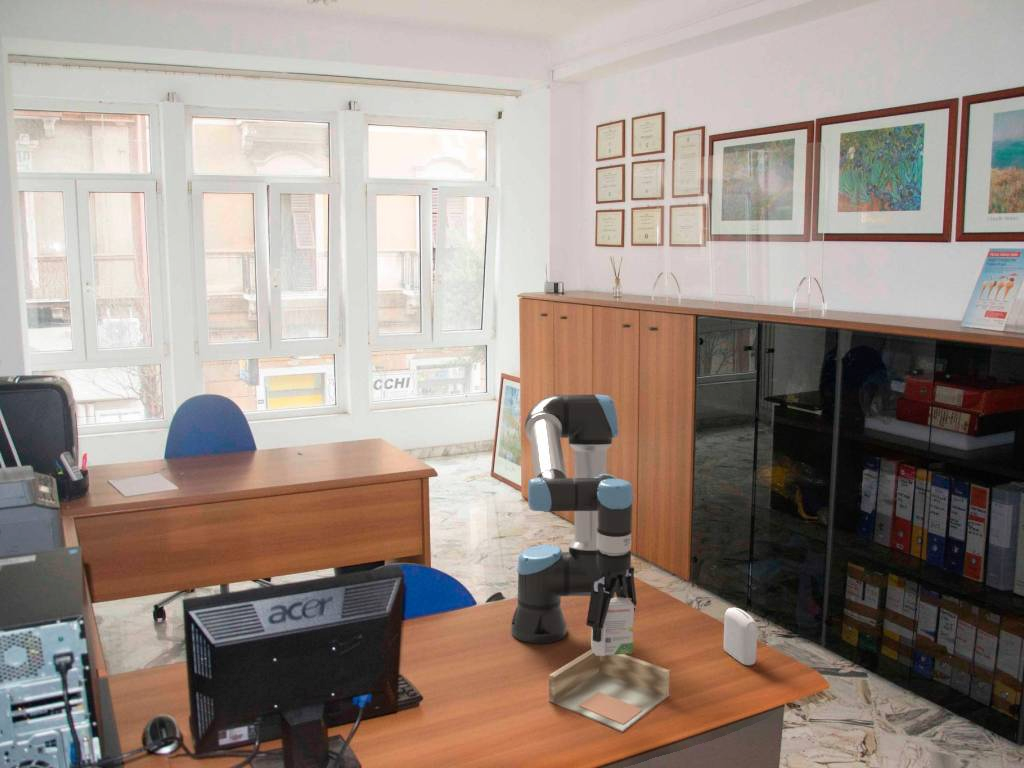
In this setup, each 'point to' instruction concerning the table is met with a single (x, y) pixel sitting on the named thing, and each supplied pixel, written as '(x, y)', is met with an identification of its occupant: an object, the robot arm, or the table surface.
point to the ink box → (618, 627)
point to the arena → (609, 684)
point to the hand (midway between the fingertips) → (611, 645)
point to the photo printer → (740, 636)
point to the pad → (610, 708)
